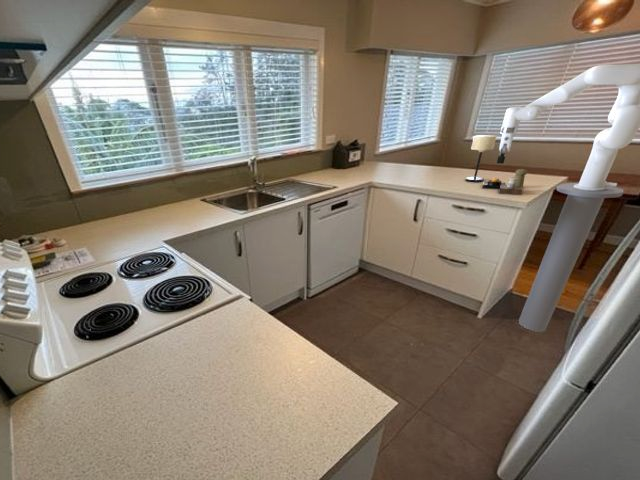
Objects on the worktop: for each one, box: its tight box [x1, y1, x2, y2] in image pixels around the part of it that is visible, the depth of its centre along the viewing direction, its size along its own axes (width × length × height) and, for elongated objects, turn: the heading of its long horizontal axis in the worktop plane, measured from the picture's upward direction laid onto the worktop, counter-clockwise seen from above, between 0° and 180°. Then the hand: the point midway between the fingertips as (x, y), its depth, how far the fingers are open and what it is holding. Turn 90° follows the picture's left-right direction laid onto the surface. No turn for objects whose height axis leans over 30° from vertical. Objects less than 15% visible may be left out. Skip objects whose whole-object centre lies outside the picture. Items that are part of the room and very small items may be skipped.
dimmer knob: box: [506, 176, 518, 188], centre depth 173 cm, size 4×4×6 cm
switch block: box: [482, 179, 506, 190], centre depth 187 cm, size 11×9×4 cm
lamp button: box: [491, 177, 500, 182], centre depth 186 cm, size 4×4×2 cm
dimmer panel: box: [498, 184, 523, 196], centre depth 175 cm, size 10×9×3 cm
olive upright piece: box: [514, 168, 528, 189], centre depth 181 cm, size 6×6×11 cm
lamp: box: [465, 134, 498, 183], centre depth 199 cm, size 12×12×29 cm
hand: (500, 162), depth 181 cm, fingers open, 4 cm apart
